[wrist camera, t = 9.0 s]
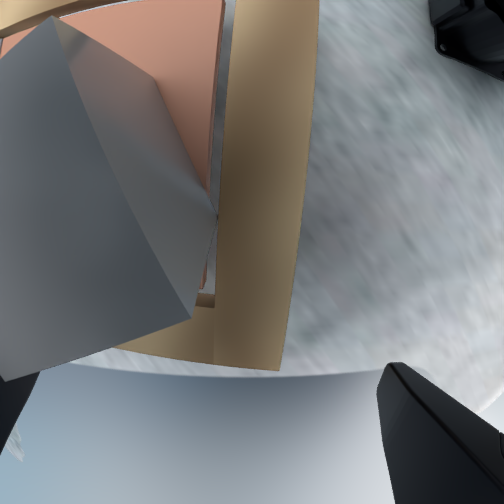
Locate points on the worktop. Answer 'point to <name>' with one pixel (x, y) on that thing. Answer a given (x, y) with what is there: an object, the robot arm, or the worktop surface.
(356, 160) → the worktop surface
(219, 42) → the trapdoor
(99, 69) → the grey block
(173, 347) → the trapdoor frame
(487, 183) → the worktop surface
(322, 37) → the worktop surface
